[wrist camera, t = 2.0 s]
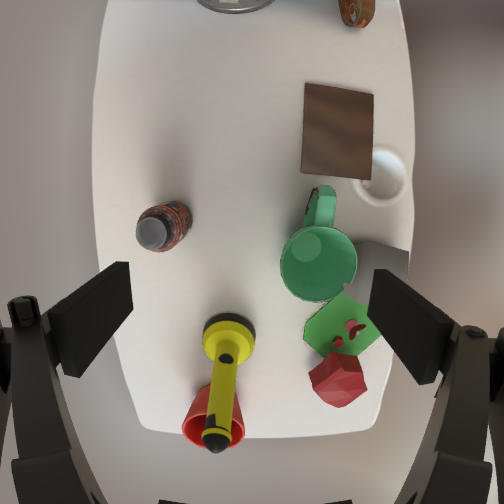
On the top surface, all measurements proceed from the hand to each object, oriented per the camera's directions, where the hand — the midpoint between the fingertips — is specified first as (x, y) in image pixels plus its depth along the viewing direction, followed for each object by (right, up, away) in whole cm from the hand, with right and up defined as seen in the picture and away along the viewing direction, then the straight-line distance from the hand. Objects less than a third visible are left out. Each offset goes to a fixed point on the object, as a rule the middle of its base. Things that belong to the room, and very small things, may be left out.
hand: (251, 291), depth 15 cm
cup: (+13, -1, +29) cm, 32 cm away
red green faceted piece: (+16, -13, +35) cm, 40 cm away
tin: (+16, +44, +20) cm, 51 cm away
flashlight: (-4, -12, +35) cm, 37 cm away
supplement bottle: (-12, +7, +30) cm, 33 cm away
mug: (+9, +5, +30) cm, 32 cm away
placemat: (+13, +20, +26) cm, 35 cm away
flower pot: (-7, -26, +38) cm, 47 cm away
